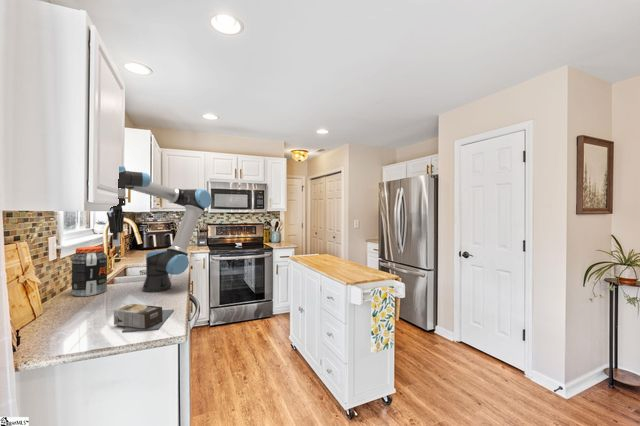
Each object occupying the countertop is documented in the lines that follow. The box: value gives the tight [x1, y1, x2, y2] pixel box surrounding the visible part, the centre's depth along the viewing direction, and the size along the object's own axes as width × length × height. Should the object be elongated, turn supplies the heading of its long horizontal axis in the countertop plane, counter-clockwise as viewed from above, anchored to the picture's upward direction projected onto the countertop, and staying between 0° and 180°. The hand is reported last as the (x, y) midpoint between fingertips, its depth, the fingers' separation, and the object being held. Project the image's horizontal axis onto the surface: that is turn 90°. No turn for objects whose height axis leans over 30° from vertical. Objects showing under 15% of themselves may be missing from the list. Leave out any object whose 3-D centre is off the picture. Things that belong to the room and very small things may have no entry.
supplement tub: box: [71, 245, 108, 297], centre depth 163 cm, size 16×16×26 cm
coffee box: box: [113, 303, 163, 329], centre depth 120 cm, size 9×6×16 cm
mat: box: [121, 308, 175, 333], centre depth 125 cm, size 22×13×1 cm, turn 12°
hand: (116, 246), depth 139 cm, fingers closed
